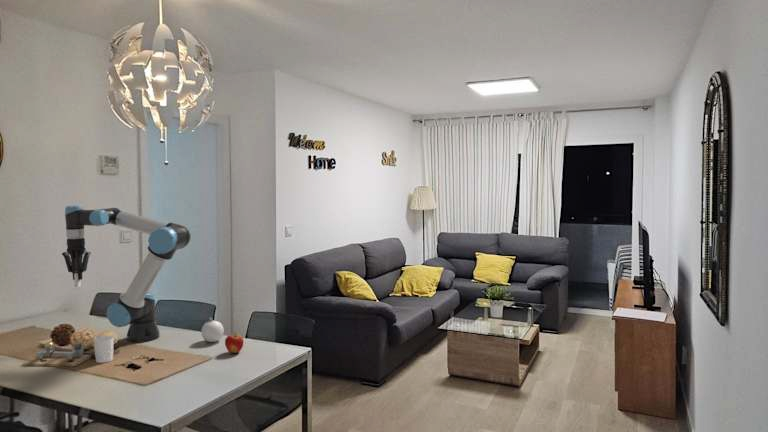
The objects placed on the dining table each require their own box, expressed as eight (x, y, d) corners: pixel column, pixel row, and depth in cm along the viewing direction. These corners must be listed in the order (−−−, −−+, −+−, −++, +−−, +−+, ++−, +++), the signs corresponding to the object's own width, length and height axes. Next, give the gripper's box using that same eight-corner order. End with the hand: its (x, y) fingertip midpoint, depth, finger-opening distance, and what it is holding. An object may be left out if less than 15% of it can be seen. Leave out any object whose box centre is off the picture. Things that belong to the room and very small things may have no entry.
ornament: (197, 343, 262) (197, 319, 261) (209, 337, 272) (208, 314, 271) (216, 345, 259) (216, 321, 258) (227, 339, 269) (227, 315, 268)
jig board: (91, 357, 243) (91, 354, 243) (74, 366, 231) (74, 364, 231) (41, 356, 244) (41, 353, 244) (22, 365, 232) (22, 363, 232)
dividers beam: (84, 355, 242) (83, 342, 241) (72, 362, 233) (71, 349, 233) (40, 354, 243) (40, 342, 242) (27, 361, 234) (27, 348, 234)
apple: (234, 348, 254) (234, 328, 254) (247, 351, 250) (246, 330, 249) (221, 353, 247) (221, 332, 247) (234, 356, 243) (233, 335, 243)
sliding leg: (55, 354, 242) (54, 341, 242) (42, 360, 234) (42, 347, 233) (48, 354, 242) (48, 341, 242) (36, 360, 234) (35, 347, 234)
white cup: (118, 358, 241) (117, 336, 240) (105, 364, 234) (104, 341, 233) (104, 356, 243) (103, 335, 242) (90, 362, 236) (89, 340, 235)
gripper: (93, 236, 262) (95, 284, 263) (67, 237, 262) (69, 284, 264) (84, 238, 254) (86, 288, 256) (57, 238, 254) (59, 288, 256)
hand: (78, 286), depth 260 cm, fingers closed
